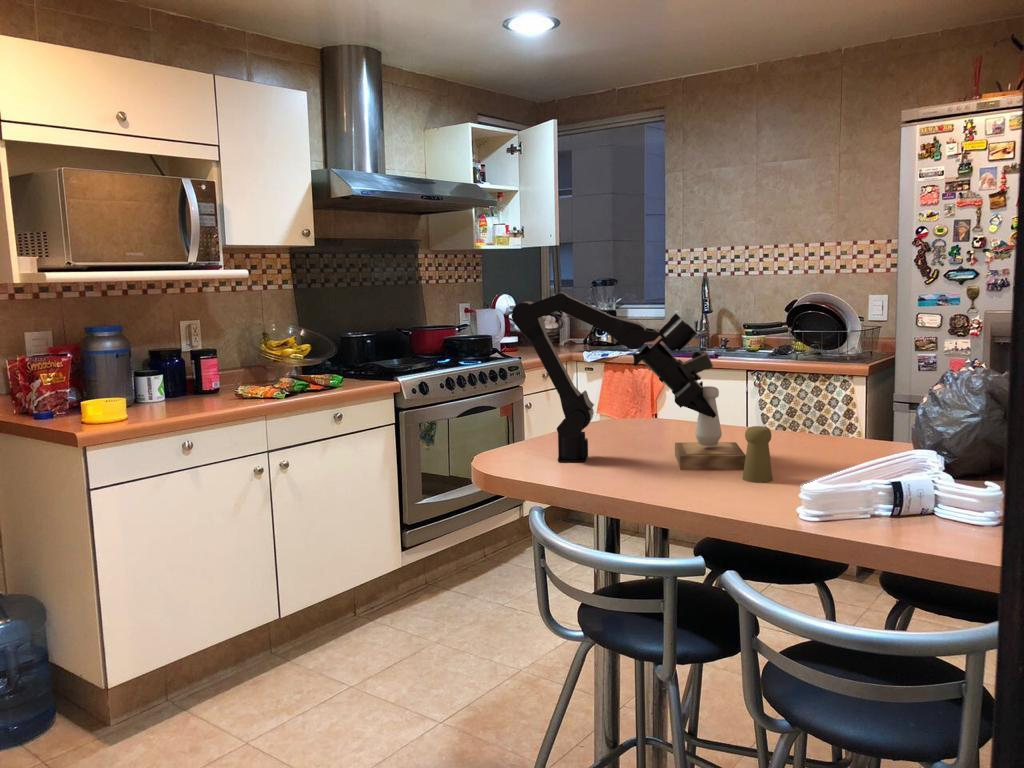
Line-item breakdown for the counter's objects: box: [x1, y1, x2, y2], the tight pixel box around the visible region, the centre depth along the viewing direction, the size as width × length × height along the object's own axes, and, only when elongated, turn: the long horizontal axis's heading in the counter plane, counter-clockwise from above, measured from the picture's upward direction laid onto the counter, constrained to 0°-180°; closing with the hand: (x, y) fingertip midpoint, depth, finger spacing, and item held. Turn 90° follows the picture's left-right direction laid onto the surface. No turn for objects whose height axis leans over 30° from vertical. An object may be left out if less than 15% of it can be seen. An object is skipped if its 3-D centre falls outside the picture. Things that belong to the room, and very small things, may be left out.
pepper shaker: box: [742, 425, 774, 484], centre depth 167 cm, size 6×6×11 cm
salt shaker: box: [694, 385, 723, 446], centre depth 182 cm, size 6×6×13 cm
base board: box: [674, 441, 746, 471], centre depth 184 cm, size 14×14×3 cm
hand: (714, 415), depth 182 cm, fingers closed on salt shaker, 3 cm apart
